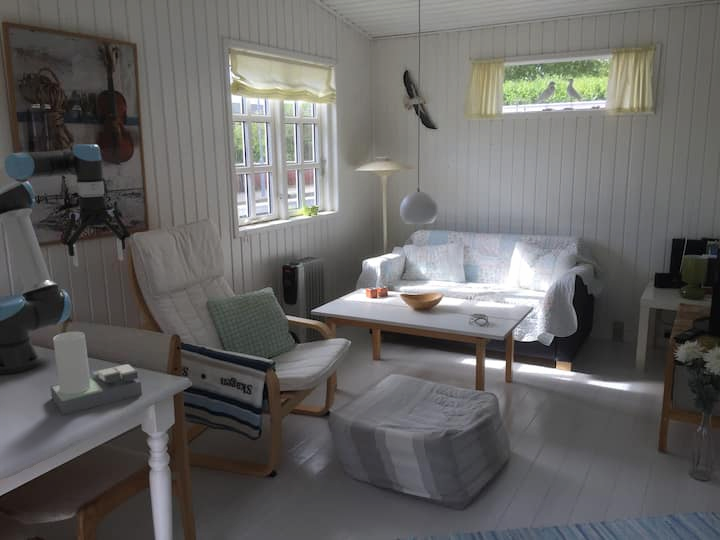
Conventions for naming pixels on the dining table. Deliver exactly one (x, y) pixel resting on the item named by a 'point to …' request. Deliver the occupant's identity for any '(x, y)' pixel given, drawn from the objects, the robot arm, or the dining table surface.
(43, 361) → the dining table surface
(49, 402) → the dining table surface
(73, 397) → the panel
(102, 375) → the light grey rectangular block
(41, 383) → the dining table surface
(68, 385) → the cup
